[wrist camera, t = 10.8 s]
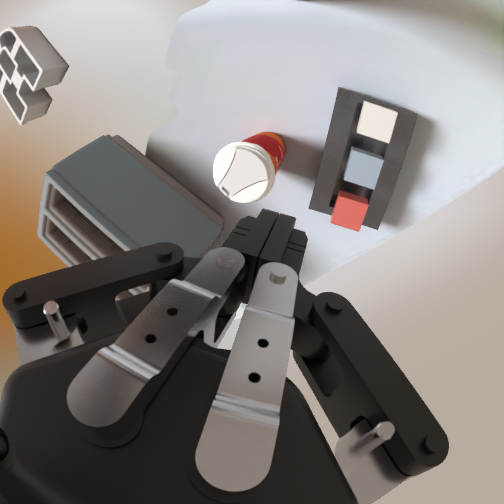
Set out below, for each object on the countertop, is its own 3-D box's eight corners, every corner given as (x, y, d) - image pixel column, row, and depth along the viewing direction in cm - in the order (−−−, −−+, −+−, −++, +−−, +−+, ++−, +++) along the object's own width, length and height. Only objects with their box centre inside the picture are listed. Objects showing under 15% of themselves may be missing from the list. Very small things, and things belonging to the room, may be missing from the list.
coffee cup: (268, 180, 51) (242, 218, 39) (235, 147, 50) (197, 174, 38) (303, 150, 47) (287, 178, 35) (267, 114, 45) (237, 129, 33)
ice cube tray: (46, 116, 56) (20, 125, 49) (9, 62, 49) (-14, 68, 42) (71, 65, 47) (42, 70, 40) (30, 15, 40) (5, 18, 33)
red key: (339, 183, 45) (339, 195, 41) (366, 192, 44) (368, 205, 40) (332, 208, 47) (330, 222, 43) (358, 216, 47) (358, 231, 43)
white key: (362, 99, 37) (365, 101, 33) (391, 109, 36) (397, 112, 32) (355, 127, 39) (357, 132, 35) (384, 136, 39) (389, 143, 34)
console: (338, 87, 39) (338, 87, 36) (411, 111, 37) (417, 113, 34) (311, 199, 51) (308, 208, 48) (375, 219, 49) (377, 229, 46)
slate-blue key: (351, 142, 41) (352, 150, 37) (379, 151, 40) (383, 160, 36) (344, 169, 43) (343, 180, 39) (371, 178, 43) (374, 189, 39)
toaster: (200, 282, 70) (158, 346, 53) (92, 193, 65) (32, 235, 48) (246, 231, 58) (203, 300, 42) (116, 129, 54) (41, 161, 37)
